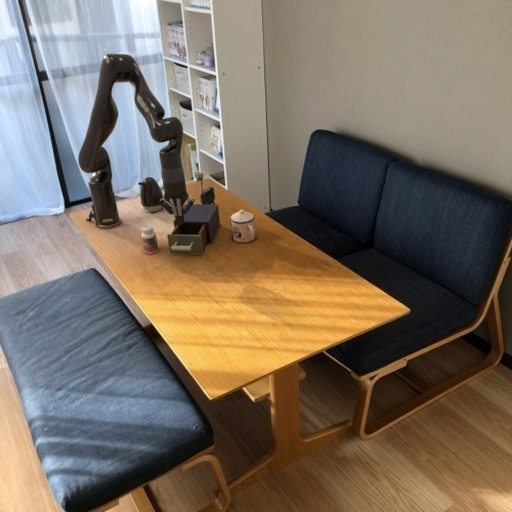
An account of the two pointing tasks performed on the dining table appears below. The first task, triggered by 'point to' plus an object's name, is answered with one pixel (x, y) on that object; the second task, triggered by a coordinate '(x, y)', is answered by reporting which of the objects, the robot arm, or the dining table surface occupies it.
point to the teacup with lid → (243, 226)
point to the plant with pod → (206, 192)
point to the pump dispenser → (150, 194)
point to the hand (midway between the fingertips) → (180, 224)
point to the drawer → (188, 239)
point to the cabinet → (203, 218)
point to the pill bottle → (149, 240)
